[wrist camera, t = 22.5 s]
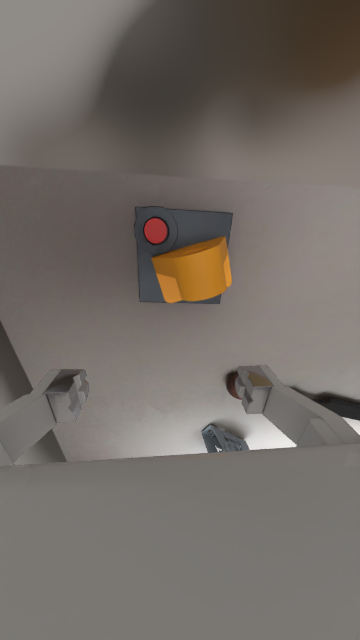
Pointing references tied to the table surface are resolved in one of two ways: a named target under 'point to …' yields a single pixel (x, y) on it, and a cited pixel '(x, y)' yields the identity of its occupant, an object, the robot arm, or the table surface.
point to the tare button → (155, 230)
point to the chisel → (332, 404)
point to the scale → (174, 242)
